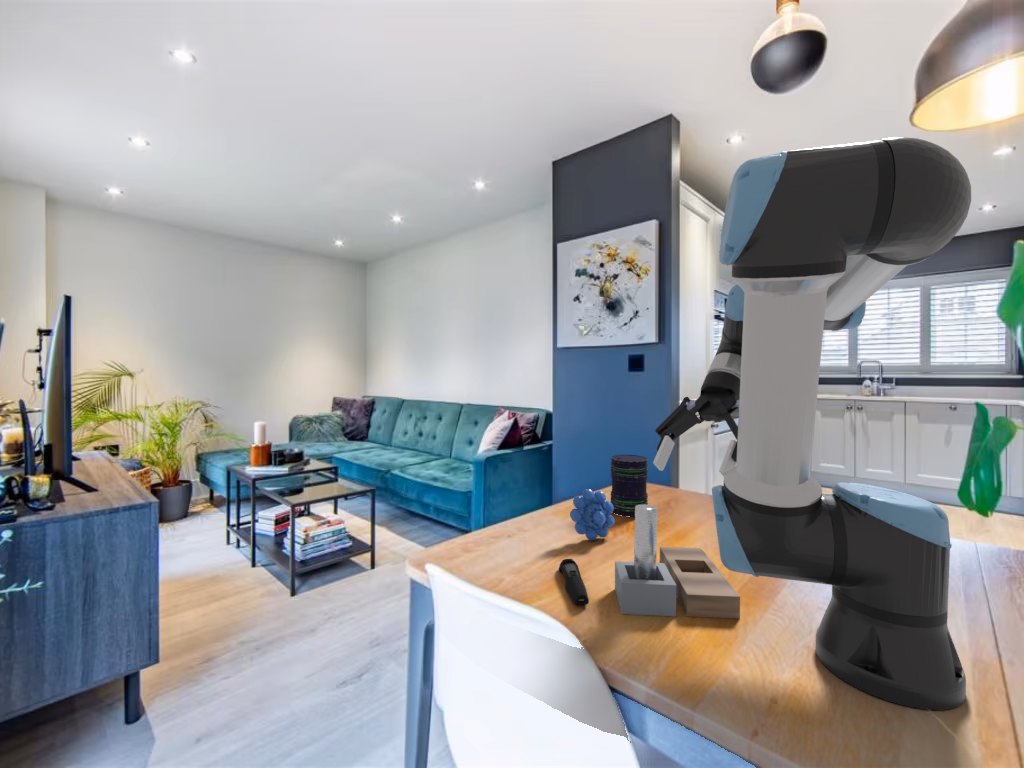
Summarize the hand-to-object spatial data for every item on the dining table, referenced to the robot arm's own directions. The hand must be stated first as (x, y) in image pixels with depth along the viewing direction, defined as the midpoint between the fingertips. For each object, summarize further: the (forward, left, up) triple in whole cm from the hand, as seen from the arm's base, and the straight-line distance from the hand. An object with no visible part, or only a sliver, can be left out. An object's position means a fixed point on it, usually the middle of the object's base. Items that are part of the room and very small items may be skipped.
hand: (689, 471), depth 85 cm
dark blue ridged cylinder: (+41, +5, -21) cm, 46 cm away
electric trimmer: (-4, +21, -21) cm, 30 cm away
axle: (-9, +9, -19) cm, 23 cm away
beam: (-3, 0, -20) cm, 21 cm away
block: (-9, +10, -20) cm, 24 cm away
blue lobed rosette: (+18, +16, -21) cm, 32 cm away
